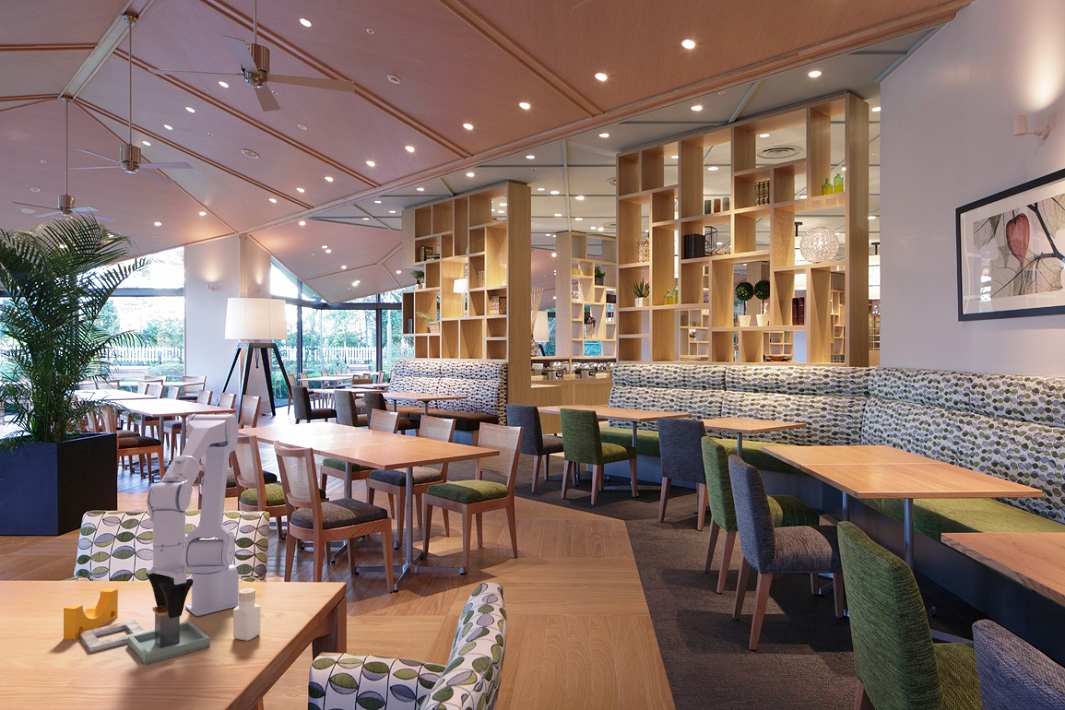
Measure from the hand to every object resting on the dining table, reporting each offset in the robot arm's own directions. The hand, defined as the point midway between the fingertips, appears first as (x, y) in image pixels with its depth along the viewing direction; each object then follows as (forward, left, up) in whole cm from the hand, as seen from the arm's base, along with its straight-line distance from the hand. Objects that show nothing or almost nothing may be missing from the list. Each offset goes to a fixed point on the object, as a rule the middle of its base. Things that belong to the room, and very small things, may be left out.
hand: (169, 611), depth 136 cm
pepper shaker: (-13, +6, -7) cm, 16 cm away
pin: (0, 0, -6) cm, 6 cm away
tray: (0, 0, -7) cm, 7 cm away
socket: (+7, -12, -7) cm, 15 cm away
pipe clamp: (+10, -22, -7) cm, 25 cm away
